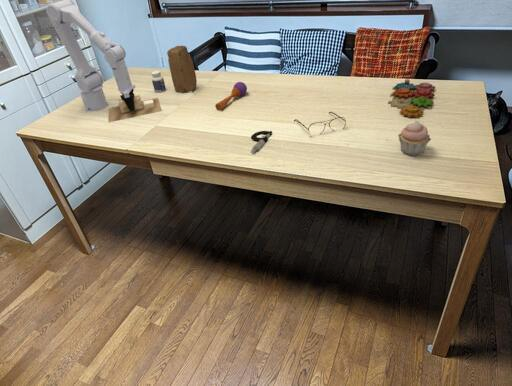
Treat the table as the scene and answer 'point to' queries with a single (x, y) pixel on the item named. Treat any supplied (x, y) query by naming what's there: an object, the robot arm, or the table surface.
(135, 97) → the sanding block
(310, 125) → the glasses
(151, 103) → the eraser
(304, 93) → the table surface
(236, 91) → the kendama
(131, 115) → the board
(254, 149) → the micrometer
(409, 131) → the cupcake
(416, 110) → the gear puzzle
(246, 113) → the table surface
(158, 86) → the pill bottle
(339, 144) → the table surface
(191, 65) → the block
